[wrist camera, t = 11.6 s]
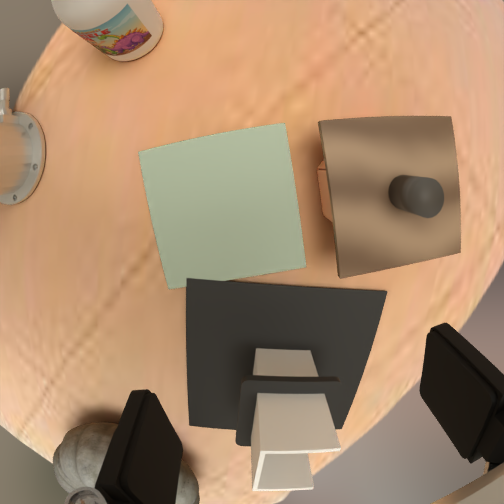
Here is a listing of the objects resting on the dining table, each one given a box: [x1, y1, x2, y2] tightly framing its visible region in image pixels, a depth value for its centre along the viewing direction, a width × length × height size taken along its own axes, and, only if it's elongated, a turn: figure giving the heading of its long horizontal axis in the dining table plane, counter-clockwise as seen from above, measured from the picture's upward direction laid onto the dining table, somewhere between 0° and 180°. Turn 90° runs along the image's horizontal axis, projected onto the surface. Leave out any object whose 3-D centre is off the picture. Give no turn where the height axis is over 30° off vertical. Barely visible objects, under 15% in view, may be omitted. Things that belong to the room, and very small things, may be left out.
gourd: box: [53, 422, 200, 504], centre depth 37 cm, size 25×25×17 cm
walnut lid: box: [318, 116, 461, 279], centre depth 24 cm, size 14×14×5 cm
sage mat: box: [138, 123, 306, 289], centre depth 33 cm, size 16×16×1 cm
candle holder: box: [186, 278, 387, 491], centre depth 31 cm, size 25×24×16 cm
